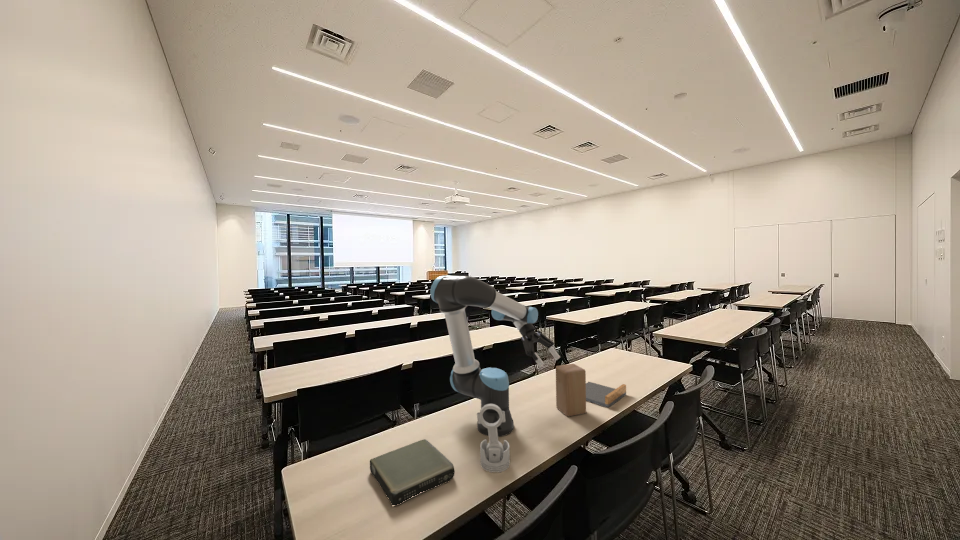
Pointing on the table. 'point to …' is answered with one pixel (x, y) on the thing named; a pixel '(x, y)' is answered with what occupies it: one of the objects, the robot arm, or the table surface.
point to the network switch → (411, 470)
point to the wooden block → (571, 389)
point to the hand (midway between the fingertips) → (550, 362)
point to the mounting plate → (604, 394)
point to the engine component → (493, 443)
